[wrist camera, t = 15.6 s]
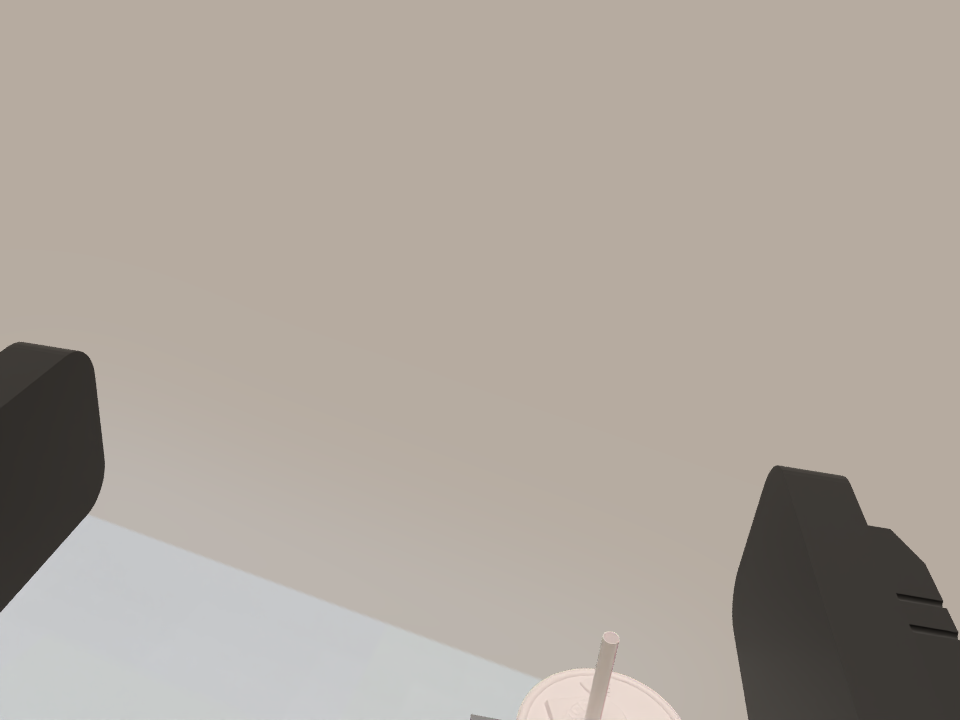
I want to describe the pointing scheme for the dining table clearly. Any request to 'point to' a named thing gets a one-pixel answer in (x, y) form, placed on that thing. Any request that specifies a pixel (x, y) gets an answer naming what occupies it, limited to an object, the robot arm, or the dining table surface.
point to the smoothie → (595, 694)
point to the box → (480, 718)
